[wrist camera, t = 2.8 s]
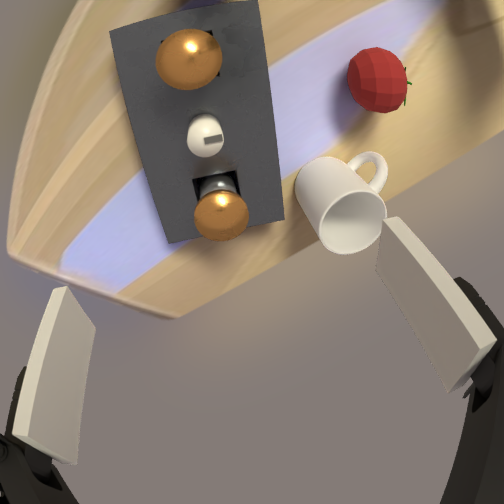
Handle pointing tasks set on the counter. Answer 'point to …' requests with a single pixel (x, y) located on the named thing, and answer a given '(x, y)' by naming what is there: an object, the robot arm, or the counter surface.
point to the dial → (205, 135)
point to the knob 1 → (188, 59)
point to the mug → (343, 201)
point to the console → (203, 102)
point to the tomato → (377, 80)
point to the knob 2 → (220, 208)
